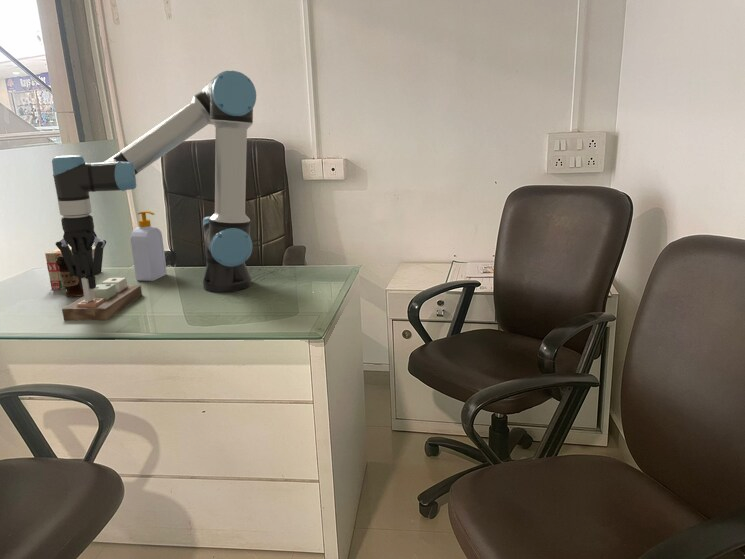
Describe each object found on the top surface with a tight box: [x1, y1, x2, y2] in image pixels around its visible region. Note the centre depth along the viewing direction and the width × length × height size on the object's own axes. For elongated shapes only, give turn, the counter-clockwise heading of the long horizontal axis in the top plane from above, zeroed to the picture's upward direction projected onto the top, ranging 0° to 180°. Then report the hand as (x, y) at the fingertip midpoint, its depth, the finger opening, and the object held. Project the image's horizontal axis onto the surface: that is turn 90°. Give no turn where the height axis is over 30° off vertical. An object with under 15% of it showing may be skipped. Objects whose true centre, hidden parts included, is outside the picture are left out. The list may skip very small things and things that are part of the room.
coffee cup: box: [56, 253, 86, 298], centre depth 172 cm, size 9×8×13 cm
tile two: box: [94, 283, 116, 299], centre depth 161 cm, size 5×5×3 cm
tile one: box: [101, 277, 128, 292], centre depth 168 cm, size 5×5×3 cm
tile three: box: [77, 298, 105, 307], centre depth 155 cm, size 5×5×3 cm
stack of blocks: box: [44, 244, 96, 290], centre depth 189 cm, size 21×6×12 cm, turn 179°
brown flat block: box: [61, 284, 143, 321], centre depth 162 cm, size 12×22×3 cm, turn 178°
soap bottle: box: [130, 210, 168, 282], centre depth 189 cm, size 9×7×23 cm
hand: (90, 299), depth 154 cm, fingers closed
